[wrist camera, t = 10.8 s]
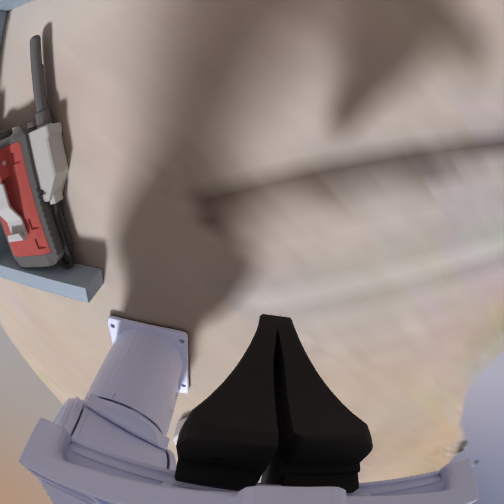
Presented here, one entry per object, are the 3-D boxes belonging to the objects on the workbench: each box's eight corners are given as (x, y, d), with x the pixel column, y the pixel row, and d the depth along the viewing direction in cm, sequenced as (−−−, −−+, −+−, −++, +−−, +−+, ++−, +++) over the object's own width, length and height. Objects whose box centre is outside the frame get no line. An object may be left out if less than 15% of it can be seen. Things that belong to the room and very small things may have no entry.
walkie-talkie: (99, 258, 24) (55, 31, 15) (74, 286, 20) (19, 27, 11) (35, 262, 25) (-9, 71, 16) (10, 286, 21) (-43, 76, 12)
